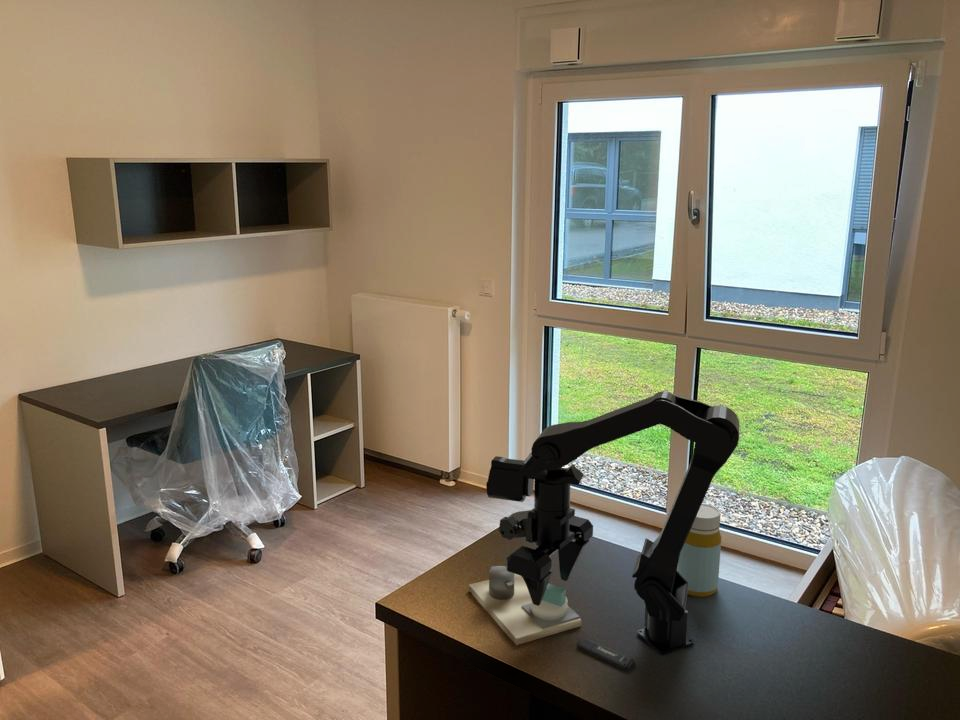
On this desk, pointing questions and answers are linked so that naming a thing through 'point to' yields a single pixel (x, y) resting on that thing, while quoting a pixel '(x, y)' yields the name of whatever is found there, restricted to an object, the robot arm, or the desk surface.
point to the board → (517, 607)
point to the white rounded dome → (551, 604)
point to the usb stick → (606, 654)
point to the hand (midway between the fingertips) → (550, 592)
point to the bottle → (702, 553)
